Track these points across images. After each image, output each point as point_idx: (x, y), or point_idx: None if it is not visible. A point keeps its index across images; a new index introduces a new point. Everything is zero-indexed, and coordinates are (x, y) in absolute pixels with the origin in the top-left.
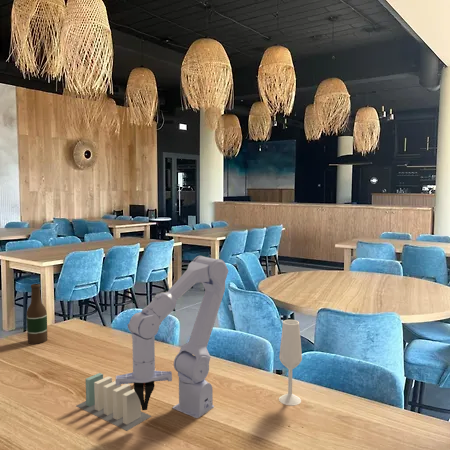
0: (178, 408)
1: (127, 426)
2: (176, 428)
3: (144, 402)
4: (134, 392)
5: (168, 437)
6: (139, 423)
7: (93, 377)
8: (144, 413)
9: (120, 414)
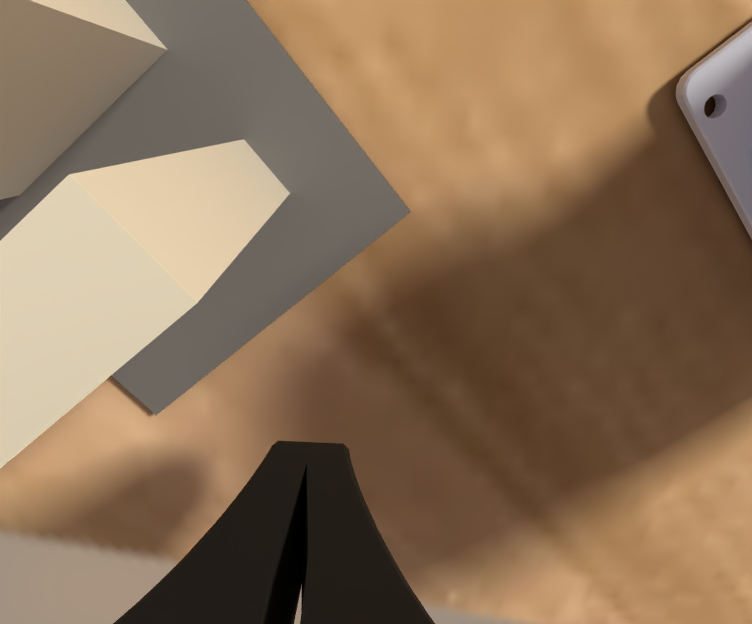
0: (738, 138)
1: (153, 347)
2: (590, 443)
3: (306, 473)
4: (56, 420)
5: (496, 536)
6: (272, 321)
7: None
8: (333, 127)
9: (25, 168)
